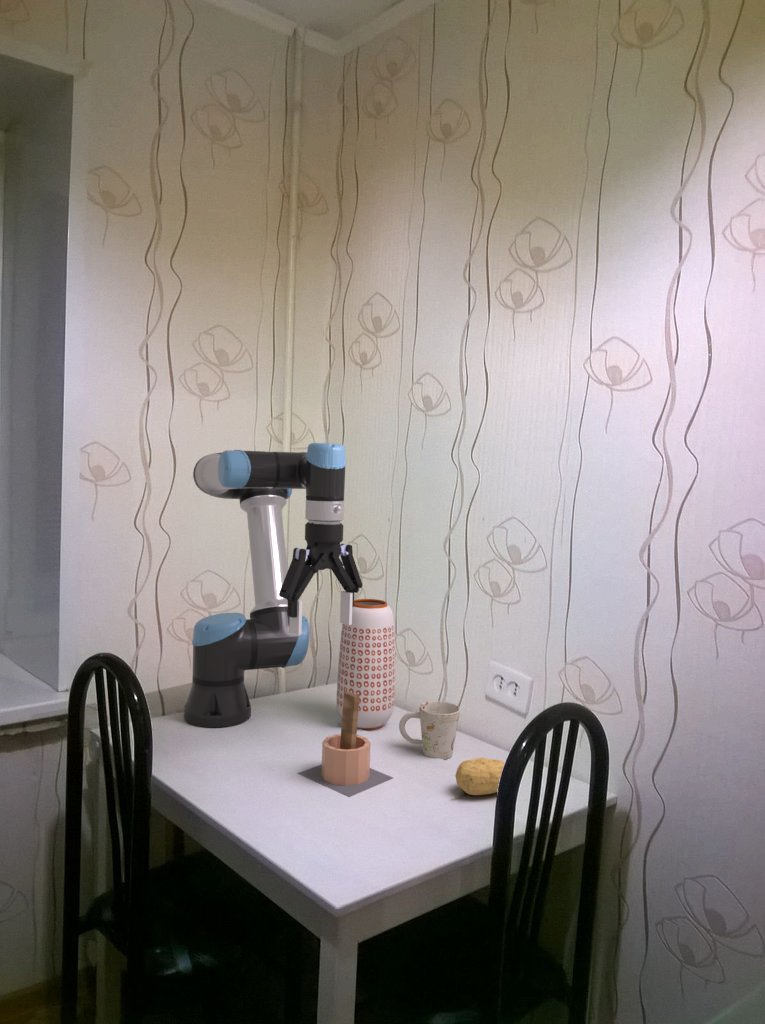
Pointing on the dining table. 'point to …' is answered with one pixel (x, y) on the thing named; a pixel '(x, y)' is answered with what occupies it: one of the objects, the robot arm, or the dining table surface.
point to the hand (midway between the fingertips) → (321, 628)
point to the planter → (368, 662)
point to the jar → (345, 761)
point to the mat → (350, 790)
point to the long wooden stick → (349, 721)
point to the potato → (479, 775)
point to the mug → (434, 728)
